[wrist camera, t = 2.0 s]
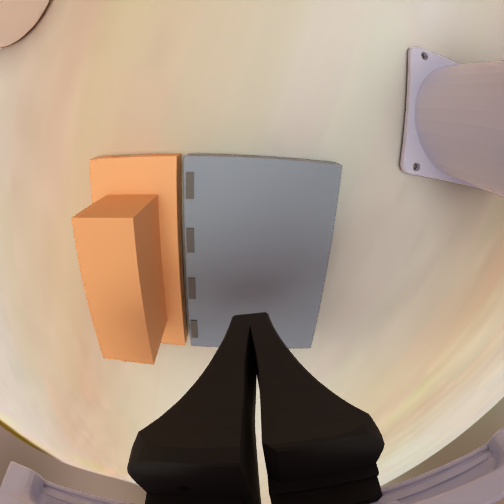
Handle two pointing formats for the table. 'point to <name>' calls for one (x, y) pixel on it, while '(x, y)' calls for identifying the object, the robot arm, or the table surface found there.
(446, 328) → the table surface
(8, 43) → the can
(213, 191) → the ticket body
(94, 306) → the stub
